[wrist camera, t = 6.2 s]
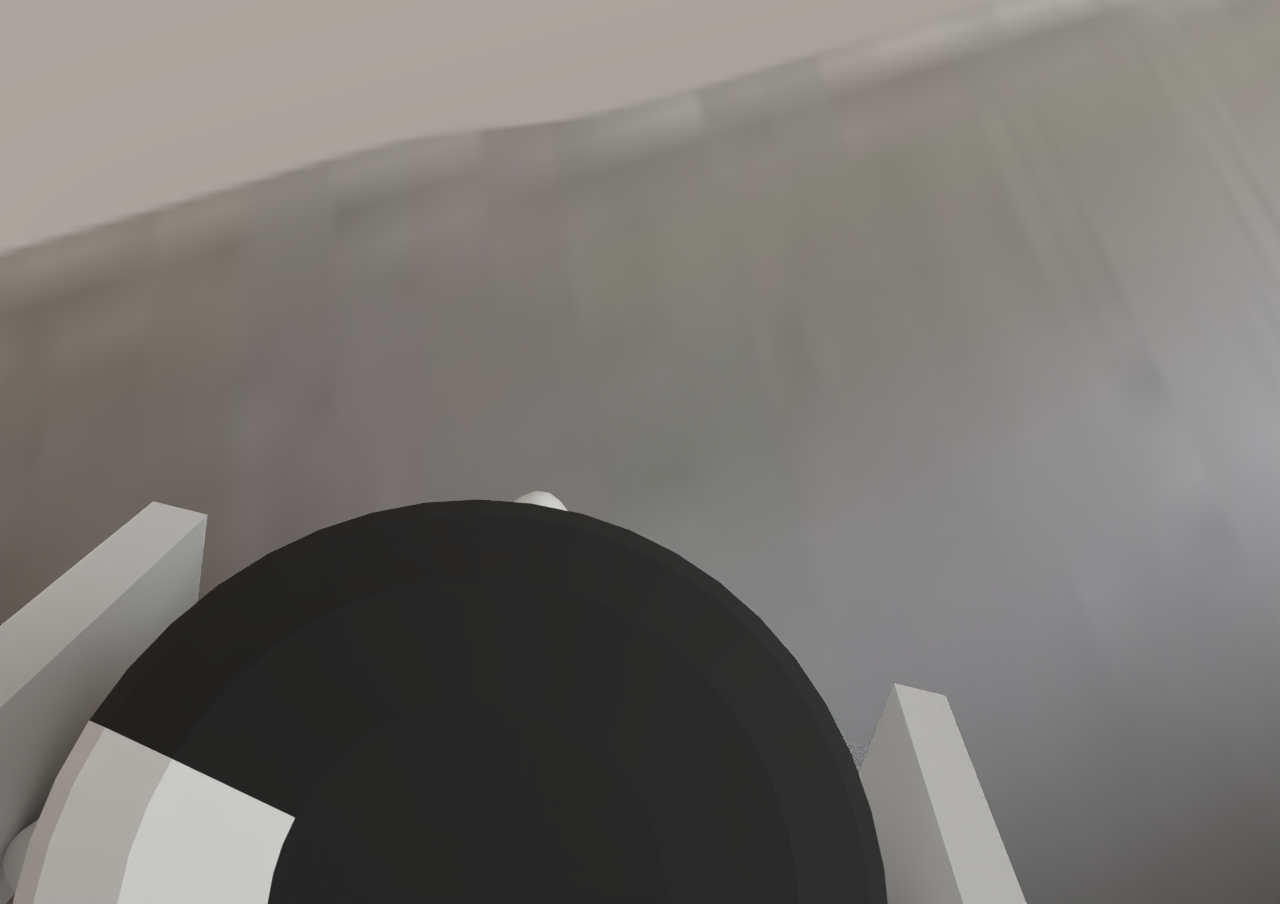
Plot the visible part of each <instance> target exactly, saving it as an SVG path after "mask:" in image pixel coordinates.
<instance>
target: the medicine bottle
mask: <svg viewBox="0 0 1280 904" xmlns="http://www.w3.org/2000/svg"><path fill="white" fill-rule="evenodd" d="M2 863H3V868H4V873H5V877H6V880H7V881H8V883H9V885H10V887H11V888H12V890H13V892H14V894H15V896H14V900H13V903H12V904H888V901H887V891H886V880H885V870H884V865H883V861H882V856H881V852H880V847H879V843H878V838H877V834H876V829H875V825H874V820H873V816H872V811H871V808H870V805H869V802H868V800H867V797H866V794H865V791H864V788H863V785H862V783H861V780H860V777H859V774H858V771H857V769H856V766H855V763H854V760H853V757H852V755H851V753H850V751H849V749H848V747H847V745H846V743H845V741H844V739H843V737H842V735H841V733H840V731H839V729H838V727H837V725H836V723H835V721H834V719H833V717H832V715H831V713H830V711H829V709H828V707H827V705H826V703H825V702H824V700H823V699H822V697H821V696H820V694H819V693H818V692H817V690H816V689H815V687H814V686H813V684H812V683H811V681H810V680H809V678H808V677H807V675H806V674H805V672H804V671H803V669H802V668H801V666H800V665H799V663H798V662H797V660H796V659H795V658H794V656H793V655H792V654H791V653H790V652H789V651H788V650H787V648H786V647H785V646H784V645H783V644H782V643H781V642H780V640H779V639H778V638H777V637H776V636H775V635H774V634H773V632H772V631H771V630H770V629H769V628H768V627H767V626H766V624H765V623H764V622H763V621H762V620H761V619H760V618H759V617H758V616H757V615H756V614H755V613H754V612H752V611H751V610H750V609H749V608H748V607H747V606H746V605H745V604H743V603H742V602H741V601H740V600H739V599H738V598H737V597H736V596H734V595H733V594H732V593H731V592H730V591H729V590H728V589H726V588H725V587H724V586H723V585H722V584H721V583H720V582H718V581H717V580H715V579H714V578H712V577H711V576H709V575H708V574H706V573H705V572H703V571H702V570H700V569H699V568H697V567H696V566H694V565H693V564H691V563H690V562H688V561H687V560H685V559H684V558H682V557H681V556H679V555H678V554H676V553H674V552H672V551H670V550H668V549H666V548H664V547H662V546H660V545H658V544H656V543H654V542H652V541H650V540H648V539H646V538H644V537H642V536H640V535H638V534H636V533H634V532H632V531H630V530H627V529H624V528H622V527H619V526H616V525H613V524H610V523H607V522H604V521H601V520H598V519H595V518H592V517H590V516H587V515H584V514H580V513H575V512H571V511H567V509H566V508H565V507H564V505H563V504H562V503H561V502H560V501H559V500H558V499H557V498H555V497H554V496H553V495H551V494H550V493H547V492H540V491H534V492H531V493H528V494H525V495H523V496H521V497H520V498H518V499H517V500H515V501H514V502H504V501H490V500H465V501H448V502H431V503H422V504H417V505H411V506H406V507H401V508H395V509H390V510H385V511H379V512H374V513H370V514H367V515H364V516H361V517H358V518H355V519H352V520H349V521H346V522H342V523H339V524H336V525H333V526H330V527H327V528H324V529H321V530H318V531H316V532H314V533H312V534H310V535H308V536H305V537H303V538H301V539H299V540H297V541H295V542H293V543H290V544H288V545H286V546H284V547H282V548H280V549H278V550H275V551H273V552H271V553H269V554H267V555H266V556H264V557H262V558H261V559H259V560H258V561H256V562H254V563H253V564H251V565H250V566H248V567H246V568H245V569H243V570H242V571H240V572H239V573H237V574H235V575H234V576H232V577H231V578H229V579H227V580H226V581H224V582H223V583H221V584H219V585H218V586H217V587H215V588H214V589H213V590H212V591H211V592H209V593H208V594H207V595H206V596H204V597H203V598H202V599H201V600H199V601H198V602H197V603H196V604H195V605H193V606H192V607H191V608H190V609H188V610H187V611H186V612H185V613H184V614H182V615H181V616H180V617H179V618H177V619H176V620H175V621H174V622H172V623H171V624H170V625H169V626H168V627H167V628H166V629H165V630H164V632H163V633H162V634H161V635H160V636H159V637H158V638H157V639H156V640H155V641H154V642H153V643H152V644H151V645H150V646H149V647H148V648H147V649H146V650H145V651H144V652H143V653H142V654H141V655H140V656H139V658H138V659H137V660H136V661H135V662H134V663H133V664H132V665H131V666H130V667H129V668H128V669H127V670H126V672H125V673H124V674H123V676H122V677H121V678H120V680H119V681H118V682H117V684H116V685H115V686H114V688H113V689H112V690H111V692H110V693H109V694H108V696H107V697H106V698H105V700H104V701H103V702H102V704H101V705H100V706H99V708H98V709H97V710H96V712H95V713H94V714H93V716H92V717H91V718H90V720H89V721H88V723H87V725H86V727H85V728H84V730H83V732H82V733H81V735H80V737H79V739H78V740H77V742H76V744H75V746H74V747H73V749H72V751H71V753H70V754H69V756H68V758H67V760H66V761H65V763H64V765H63V767H62V768H61V770H60V772H59V774H58V775H57V777H56V779H55V782H54V784H53V786H52V789H51V791H50V793H49V796H48V798H47V801H46V803H45V805H44V808H43V810H42V813H41V815H40V817H39V819H38V820H37V821H35V822H34V823H32V824H31V825H29V826H28V827H26V828H25V829H23V830H22V831H21V832H20V833H19V834H18V835H17V836H16V837H15V838H14V839H13V840H12V841H11V842H10V843H9V844H8V846H7V849H6V852H5V855H4V858H3V861H2Z"/></svg>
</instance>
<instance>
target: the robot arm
mask: <svg viewBox="0 0 1280 904" xmlns="http://www.w3.org/2000/svg"><path fill="white" fill-rule="evenodd" d="M207 516H208V515H207V514H203V513H199V512H194V511H190V510H186V509H182V508H178V507H174V506H170V505H166V504H162V503H158V502H154V501H153V502H152V503H150V504H149V505H148V506H147V507H146V508H144V509H143V510H142V511H141V512H139V513H138V514H137V515H136V516H134V517H133V518H132V519H131V520H130V521H128V522H127V523H126V524H125V525H123V526H122V527H121V528H120V529H118V530H117V531H116V532H115V533H114V534H112V535H111V536H110V537H109V538H107V539H106V540H105V541H104V542H102V543H101V544H100V545H99V546H98V547H96V548H95V549H94V550H93V551H91V552H90V553H89V554H88V555H87V556H85V557H84V558H83V559H82V560H80V561H79V562H78V563H77V564H75V565H74V566H73V567H72V568H71V569H69V570H68V571H67V572H66V573H64V574H63V575H62V576H61V577H59V578H58V579H57V580H56V581H55V582H53V583H52V584H51V585H50V586H48V587H47V588H46V589H45V590H43V591H42V592H41V593H40V594H39V595H37V596H36V597H35V598H34V599H32V600H31V601H30V602H29V603H27V604H26V605H25V606H24V607H23V608H21V609H20V610H19V611H18V612H16V613H15V614H14V615H13V616H11V617H10V618H9V619H8V620H7V621H5V622H4V623H3V624H2V625H0V904H6V903H7V902H8V901H9V900H10V898H11V897H12V896H13V895H14V892H13V890H12V888H11V887H10V885H9V883H8V881H7V880H6V877H5V873H4V868H3V863H2V861H3V858H4V855H5V852H6V849H7V846H8V844H9V843H10V842H11V841H12V840H13V839H14V838H15V837H16V836H17V835H18V834H19V833H20V832H21V831H22V830H23V829H25V828H26V827H28V826H29V825H31V824H32V823H34V822H35V821H37V820H38V819H39V817H40V815H41V813H42V810H43V808H44V805H45V803H46V801H47V798H48V796H49V793H50V791H51V789H52V786H53V784H54V782H55V779H56V777H57V775H58V774H59V772H60V770H61V768H62V767H63V765H64V763H65V761H66V760H67V758H68V756H69V754H70V753H71V751H72V749H73V747H74V746H75V744H76V742H77V740H78V739H79V737H80V735H81V733H82V732H83V730H84V728H85V727H86V725H87V723H88V721H89V720H90V718H91V717H92V716H93V714H94V713H95V712H96V710H97V709H98V708H99V706H100V705H101V704H102V702H103V701H104V700H105V698H106V697H107V696H108V694H109V693H110V692H111V690H112V689H113V688H114V686H115V685H116V684H117V682H118V681H119V680H120V678H121V677H122V676H123V674H124V673H125V672H126V670H127V669H128V668H129V667H130V666H131V665H132V664H133V663H134V662H135V661H136V660H137V659H138V658H139V656H140V655H141V654H142V653H143V652H144V651H145V650H146V649H147V648H148V647H149V646H150V645H151V644H152V643H153V642H154V641H155V640H156V639H157V638H158V637H159V636H160V635H161V634H162V633H163V632H164V630H165V629H166V628H167V627H168V626H169V625H170V624H171V623H172V622H174V621H175V620H176V619H177V618H179V617H180V616H181V615H182V614H184V613H185V612H186V611H187V610H188V609H190V608H191V607H192V606H193V605H195V604H196V603H197V602H198V594H199V586H200V577H201V568H202V559H203V551H204V542H205V533H206V525H207ZM859 777H860V780H861V783H862V785H863V788H864V791H865V794H866V797H867V800H868V802H869V805H870V808H871V811H872V816H873V820H874V825H875V829H876V834H877V838H878V843H879V847H880V852H881V856H882V861H883V865H884V870H885V880H886V891H887V901H888V904H1027V903H1026V901H1025V898H1024V896H1023V893H1022V890H1021V888H1020V885H1019V883H1018V880H1017V878H1016V875H1015V872H1014V870H1013V867H1012V865H1011V862H1010V860H1009V857H1008V855H1007V852H1006V849H1005V847H1004V844H1003V842H1002V839H1001V837H1000V834H999V831H998V829H997V826H996V824H995V821H994V819H993V816H992V813H991V811H990V808H989V806H988V803H987V801H986V798H985V795H984V793H983V790H982V788H981V785H980V783H979V780H978V777H977V775H976V772H975V770H974V767H973V765H972V762H971V760H970V757H969V754H968V752H967V749H966V747H965V744H964V742H963V739H962V736H961V734H960V731H959V729H958V726H957V724H956V721H955V718H954V716H953V713H952V711H951V708H950V706H949V703H948V700H947V698H946V695H942V694H937V693H933V692H929V691H925V690H921V689H917V688H913V687H909V686H905V685H901V684H897V683H894V684H893V686H892V689H891V691H890V694H889V697H888V699H887V702H886V704H885V707H884V709H883V712H882V715H881V717H880V720H879V722H878V725H877V728H876V730H875V733H874V735H873V738H872V740H871V743H870V746H869V748H868V751H867V753H866V756H865V758H864V761H863V764H862V766H861V769H860V771H859Z"/></svg>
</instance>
